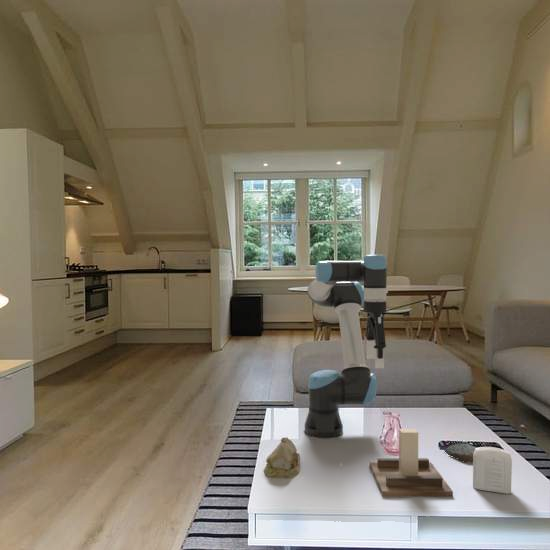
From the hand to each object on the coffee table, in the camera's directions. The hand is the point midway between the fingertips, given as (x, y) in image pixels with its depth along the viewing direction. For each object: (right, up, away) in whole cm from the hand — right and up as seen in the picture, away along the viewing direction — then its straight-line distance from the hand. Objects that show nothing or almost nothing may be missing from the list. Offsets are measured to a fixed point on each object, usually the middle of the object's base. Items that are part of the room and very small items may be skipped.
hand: (374, 363), depth 148 cm
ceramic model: (-31, -33, -5) cm, 46 cm away
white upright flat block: (+30, -33, -19) cm, 49 cm away
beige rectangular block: (+7, -32, -14) cm, 35 cm away
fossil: (+32, -33, +3) cm, 46 cm away
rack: (+7, -33, -14) cm, 37 cm away
